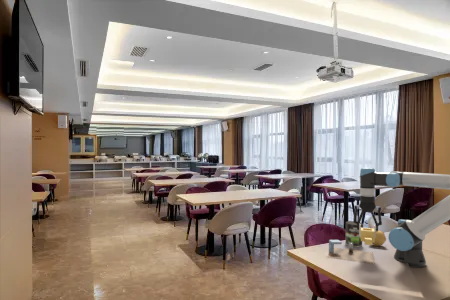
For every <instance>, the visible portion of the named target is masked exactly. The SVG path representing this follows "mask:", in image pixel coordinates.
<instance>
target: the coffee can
mask: <svg viewBox="0 0 450 300" xmlns="http://www.w3.org/2000/svg"><path fill="white" fill-rule="evenodd" d="M359 224H361V228H364V226H363V225H364V224H363V223H362V222H360V223H359ZM349 243H353V247H357V248H361V247H363V241H361V239H360V236H359V230H357V224H356V223H354V220H353V221H350V220H349V221H345V243H344V244H345V245H346V246H348V247H349Z"/></svg>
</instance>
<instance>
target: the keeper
mask: <svg viewBox="0 0 450 300" xmlns="http://www.w3.org/2000/svg"><path fill="white" fill-rule="evenodd" d="M335 245H342V241H341V240H339V239H329V240H328V253H329V252H330V253H334V248H335Z"/></svg>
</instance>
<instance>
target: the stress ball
mask: <svg viewBox="0 0 450 300" xmlns="http://www.w3.org/2000/svg"><path fill="white" fill-rule="evenodd" d="M386 241H387V237H386V235H385V233H384V232H382V231H381V230H380V229H378V232H376V238H375V243H374V242H372V245H374V246H375V247H380V246H383V245H384V243H385V242H386ZM385 244H386V243H385Z"/></svg>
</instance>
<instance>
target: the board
mask: <svg viewBox="0 0 450 300" xmlns="http://www.w3.org/2000/svg"><path fill="white" fill-rule="evenodd" d="M327 258H328V259H335V260H343V261H350V262H355V263H356V262H358V263H364V264H365V263H366V264H372V265H376V260H375V256H374V253H373V252H372V251H366V250H365V251H363V250H356V249H353V252H349V248H348V249H347V248H340V247H334V253H330V252H329V251H328V255H327Z"/></svg>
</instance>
